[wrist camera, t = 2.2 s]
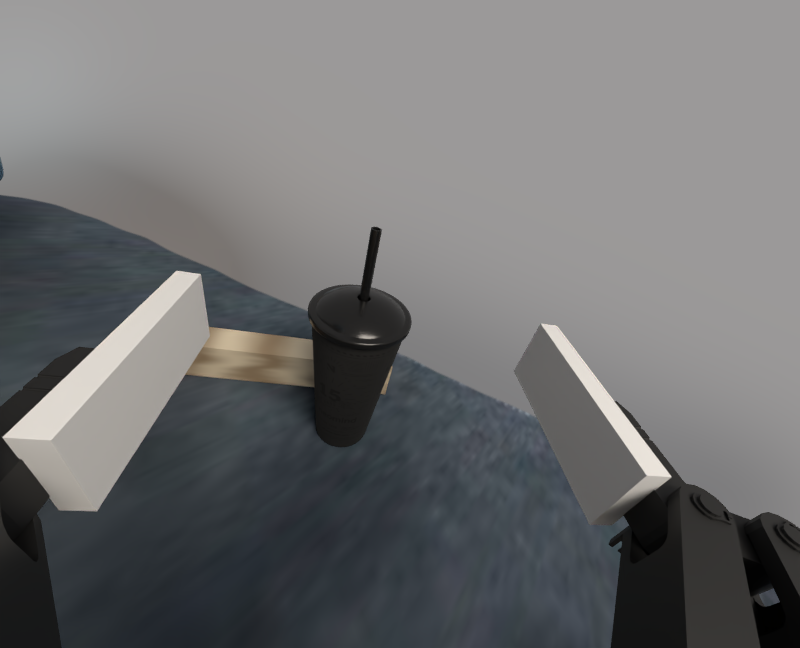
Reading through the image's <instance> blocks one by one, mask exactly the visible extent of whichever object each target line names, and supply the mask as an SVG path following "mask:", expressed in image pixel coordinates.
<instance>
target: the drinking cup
mask: <svg viewBox="0 0 800 648" xmlns="http://www.w3.org/2000/svg"><path fill="white" fill-rule="evenodd" d="M381 231H382V230H381V229H380V228H378V227H372V228H371V232H370V239H369V244H368V250H367V256H366V262H365V267H364V273H363V280H362V285H338V286H333V287H329V288H326V289H324V290H322V291H320V292H318V293H317V294H316V295H315V296H314V297H313V298H312V300H311V301H310V303H309V306H308V318H309V321H310V323H311V325H312V337H313V363H314V389H315V414H316V430H317V433H318V435H319V436H320V438H321V439H322V440H323V441H324V442H326V443H327V444H329V445H332V446H336V447H347V446H351V445H353V444H355V443H357V442H358V441H359V440H360V439H361V438H362V437H363V435H364V433H365V431H366V428H367V426H368V423H369V421H370V419H371V416H372V414H373V411H374V409H375V406H376V404H377V401H378V399H379V396H380V394H381V391H382V389H383V386H384V384H385V381H386V379H387V376H388V374H389V372H390V369H391V367H392V364H393V362H394V359H395V357H396V354H397V352H398V349H399V346H400V344H401V342H402V340H404V339H405V338H406V336H407V335H408V333H409V331H410V328H411V316H410V313H409V311H408V310H407V308H406V307H405V306H404V305H403V304H402V303H401V302H400V301H399V300H398V299H396V298H395V297H393V296H392V295H390V294H388V293H386V292H383V291H381V290H378V289H375V288H371V284H372V279H373V274H374V268H375V263H376V257H377V253H378V247H379V242H380V237H381Z"/></svg>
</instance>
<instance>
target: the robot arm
mask: <svg viewBox="0 0 800 648" xmlns="http://www.w3.org/2000/svg"><path fill="white" fill-rule="evenodd" d="M2 177H3V167H2V163H1V159H0V180H1V179H2ZM209 337H210V333H209V326H208V319H207V313H206V306H205V299H204V293H203V286H202V279H201V274H196V273H189V272H182V271H176V272H175V273H174V274H173V275H172V276H171V277H170V278H169V279H168V280H166V281H165V282H164V283H163V284H162V285H161V286H160V287H159V288H158V289H157V290H156V291H155V292H154V293H153V294H152V295H151V296H150V297H149V298H148V299H147V300H146V301H145V302H143V303H142V304H141V305H140V306H139V307H138V308H137V309H136V310H135V311H134V312H133V313H132V314H131V315H130V316H129V317H128V318H127V319H126V320H125V321H124V322H123V323H121V324H120V325H119V326H118V327H117V328H116V329H115V330H114V331H113V332H112V333H111V334H110V335H109V336H108V337H107V338H106V339H105V340H104V341H103V342H102V343H101V344H100V345H98V346H97V347H96V348H95V349H94V348H85V347H78V348H76V349H74V350H72V351H70V352H68V353H66V354H64V355H62V356H60V357H58V358H56V359H55V360H54V361H52V362H51V363H50V364H49V365H48V366H47V367H46V368H44V369H43V370H42V371H41V372H40V373H39V374H38V377H34V378H33V379H32V380H31V381H29V382H28V383H27V384H26V385H25V386H24V387H23V390H22V391H21V390H19V391H18V392H17V393H16V394H15V395H13V396H12V397H11V398H10V399H9V400H8V401H6V402H5V403H4V404H3V405H2V406H1V407H0V648H62V647H61V641H60V635H59V629H58V623H57V617H56V611H55V604H54V598H53V592H52V586H51V580H50V574H49V568H48V562H47V555H46V549H45V543H44V537H43V531H42V525H41V520H40V519H39V517H38V515H37V512H38V511H39V510H40V509H41V507H42V506H43V505H44V504H45V502H46V501H47V500H48V498H50V499H51V501H52V502H53V503H54V505H55V506H56V507H57V508H58V510H67V511H97V510H98V509H99V507H100V506H101V504H102V503H103V501H104V500H105V498H106V496H107V495H108V493H109V492H110V490H111V489H112V487H113V486H114V484H115V482H116V481H117V479H118V478H119V476H120V475H121V473H122V472H123V470H124V469H125V467H126V465H127V464H128V462H129V461H130V459H131V458H132V456H133V455H134V453H135V451H136V450H137V448H138V447H139V445H140V444H141V442H142V441H143V439H144V437H145V436H146V434H147V433H148V431H149V430H150V428H151V427H152V425H153V424H154V422H155V420H156V419H157V417H158V416H159V414H160V413H161V411H162V410H163V408H164V406H165V405H166V403H167V402H168V400H169V399H170V397H171V396H172V394H173V392H174V391H175V389H176V388H177V386H178V385H179V383H180V382H181V380H182V379H183V377H184V375H185V374H186V372H187V371H188V369H189V368H190V366H191V365H192V363H193V361H194V360H195V358H196V357H197V355H198V354H199V352H200V351H201V349H202V347H203V346H204V344H205V343H206V341H207V340H208V338H209ZM514 372H515V374H516V376H517V378H518V380H519V382H520V384H521V386H522V388H523V390H524V392H525V394H526V396H527V398H528V400H529V402H530V404H531V407H532V409H533V410H534V413H535V415H536V417H537V419H538V421H539V423H540V425H541V427H542V429H543V431H544V433H545V435H546V437H547V439H548V441H549V443H550V445H551V447H552V449H553V451H554V453H555V455H556V457H557V459H558V462H559V464H560V466H561V468H562V470H563V472H564V474H565V476H566V478H567V480H568V482H569V484H570V486H571V488H572V490H573V492H574V494H575V496H576V498H577V500H578V502H579V504H580V506H581V508H582V510H583V512H584V514H585V516H586V519H587V521H588V523H589V525H612V524H614V523H615V522H616V521H617V520H619V519H620V518H621V517H622V516H624V517H625V519H626V520H627V522H628V524H629V526H628V527H626V528H625V529H624V530H623V531H621V532H620V533H619V534H617V535H616V536H615V537H613V538H612V539H611V540H610V542H609V545H610V546H611V547H613V546H615V545H616V544H617V543H619V542H620V541H622V548H620V549H619V550H618V552H620V553H621V558H620V567H619V576H618V586H617V595H616V604H615V614H614V623H613V632H612V642H611V648H800V528H798V527H796V526H795V525H794V524H793V523H791V522H789V521H788V520H786V519H784V518H782V517H780V516H778V515H775V514H772V513H769V512H767V513H762V514H760V515H758V516H757V517H755V518H753V519H752V520H749V519H746V518H743V517H741V516H738V515H735V514H733V513H730V512H729V511H728V510H727V509H726V507H724V505H723V504H722V503H721V502H719V500H717V499H716V498H715V497H714V496H713V495H711V494H710V493H708V492H707V491H705V490H704V489H702V488H699V487H697V486H695V485H689V484H686V483H685V482H684V481H683V480H682V479H681V477H680V476H679V475H678V473H677V472H676V471H675V470H674V468H673V467H672V466H671V465H670V463H669V462H668V461H667V459H666V458H665V457H664V456H663V454H662V453H661V452H660V450H659V449H658V448H657V447H656V445H655V444H654V443H653V441H650V440H649V436H648V435H647V434H646V433H645V431H644V430H643V429H641V426H640V425H639V424H638V422H637V421H636V420H635V418H634V417H633V416H632V415H631V413H629V412H628V411H627V410H626V409H625V408H624V407H622V406H621V405H620V404H619V403H618V402H617V401H614V400H613V399H612V398H611V396H610V395H609V394H608V392H607V391H606V390H605V389H604V387H603V386H602V384H601V383H600V382H599V381H598V379H597V378H596V377H595V375H594V374H593V373H592V371H591V370H590V369H589V367H588V366H587V365H586V363H585V362H584V361H583V360H582V358H581V357H580V356H579V354H578V353H577V352H576V350H575V349H574V348H573V346H572V345H571V344H570V342H569V341H568V340H567V338H566V337H565V336H564V334H563V333H562V332H561V331H560V329H559V328H558V327H557V326H555V325H547V324H540V326H539V327H538V329H537V331H536V333H535V334H534V336H533V338H532V340H531V342H530V343H529V345H528V347H527V349H526V351H525V352H524V354H523V356H522V358H521V360H520V361H519V363H518V365H517V367H516V368H515V370H514ZM773 588H774V590H775V592H776V594H777V596H778V598H779V600H780V602H779V603H777V604H774V605H771V606H767V607H766V606H764V604H763V603H762V601H761V599H760V597H759V594H761V593H763V592H765V591H768V590H770V589H773Z"/></svg>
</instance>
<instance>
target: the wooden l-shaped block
mask: <svg viewBox="0 0 800 648" xmlns="http://www.w3.org/2000/svg"><path fill="white" fill-rule="evenodd" d="M209 333H210V337H209V338H208V340H207V341H206V343H205V344H204V346H203V347H202V349H201V351H200V352H199V354H198V355H197V357H196V358H195V360H194V361H193V363H192V365H191V366H190V368H189V369H188V371H187V372H186V374H185V375H195V376H205V377H215V378H225V379H235V380H245V381H255V382H265V383H276V384H286V385H296V386H306V387H314V363H313V340H310V339H302V338H294V337H286V336H278V335H270V334H261V333H253V332H245V331H237V330H229V329H221V328H213V327H209ZM391 371H392V367H391V369H390V372H389V374H388V376H387V379H386V381H385V384H384V386H383V389H382V391H381V394H385V393H386V389H387V385H388V382H389V378H390V375H391Z"/></svg>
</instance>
